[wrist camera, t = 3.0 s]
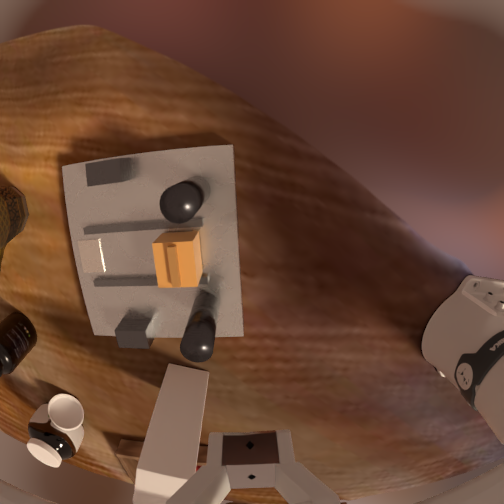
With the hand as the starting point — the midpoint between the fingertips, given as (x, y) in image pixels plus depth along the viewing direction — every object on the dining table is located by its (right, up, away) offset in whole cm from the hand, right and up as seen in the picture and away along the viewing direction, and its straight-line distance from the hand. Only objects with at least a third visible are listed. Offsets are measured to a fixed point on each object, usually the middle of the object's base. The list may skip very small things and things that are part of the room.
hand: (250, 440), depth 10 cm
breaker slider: (-7, +7, +23) cm, 25 cm away
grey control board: (-11, +8, +26) cm, 30 cm away
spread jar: (-35, -23, +36) cm, 55 cm away
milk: (-10, -12, +33) cm, 36 cm away
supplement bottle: (-38, -6, +30) cm, 49 cm away
